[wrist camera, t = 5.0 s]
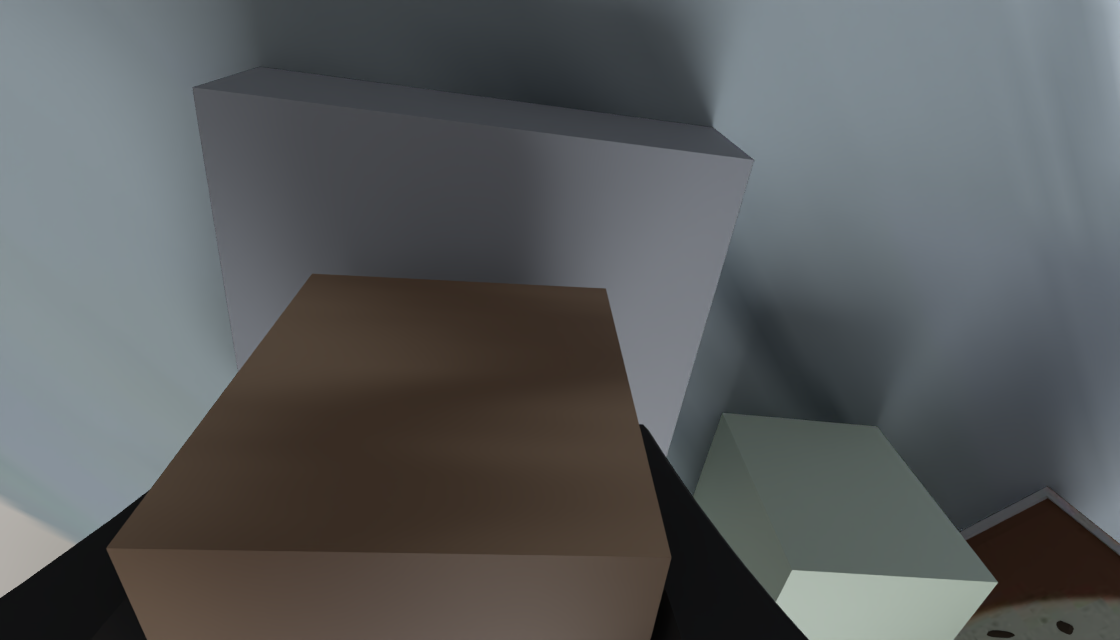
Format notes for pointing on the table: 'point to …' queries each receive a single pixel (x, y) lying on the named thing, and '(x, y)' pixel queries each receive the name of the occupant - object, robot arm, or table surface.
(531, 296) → the walnut block
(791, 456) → the sage block
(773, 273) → the table surface
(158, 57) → the table surface
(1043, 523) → the food container
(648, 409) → the base block
